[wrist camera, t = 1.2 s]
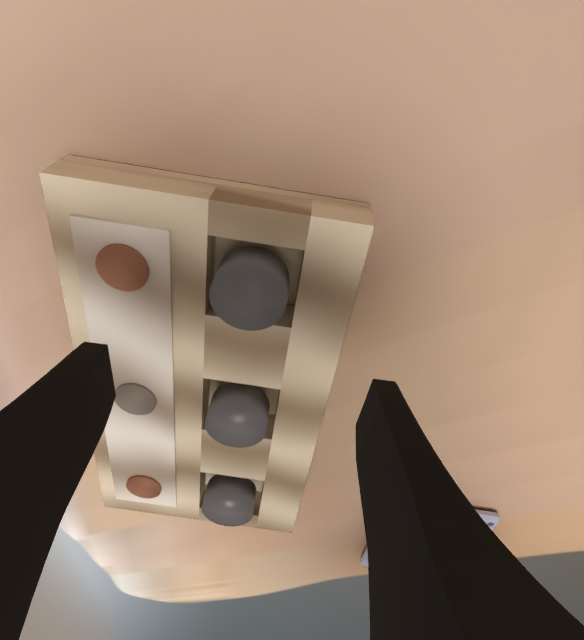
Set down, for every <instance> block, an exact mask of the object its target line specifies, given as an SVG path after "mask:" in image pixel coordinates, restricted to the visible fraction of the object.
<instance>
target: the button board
mask: <svg viewBox="0 0 584 640" xmlns="http://www.w3.org/2000/svg"><path fill="white" fill-rule="evenodd" d="M39 175H40V180H41V185H42V190H43V195H44V201H45V206H46V211H47V216H48V221H49V226H50V231H51V236H52V241H53V246H54V251H55V257H56V262H57V267H58V272H59V277H60V282H61V287H62V292H63V297H64V302H65V307H66V312H67V318H68V323H69V328H70V333H71V338H72V343H73V348H74V350H75V349H76V348H77V347H78V346H79V345H80V344H82V343H83V342H91V343H99V344H107V345H108V350H109V356H110V362H111V368H112V374H113V380H114V386H115V392H116V397H115V400H114V403H113V407H112V410H111V413H110V416H109V418H108V421H107V424H106V427H105V430H104V432H103V434H102V436H101V438H100V440H99V443H98V445H97V447H96V449H95V451H94V455H95V460H96V465H97V470H98V475H99V480H100V485H101V490H102V496H103V501H104V506H105V507H112V508H119V509H126V510H133V511H140V512H148V513H155V514H162V515H169V516H176V517H183V518H190V519H198V520H205V521H210V520H209V519H207V518H206V517H205V516H204V514H203V513H202V505H203V501H204V497H205V493H206V489H207V485H208V482H209V480H210V479H211V478H212V477H213V476H215V475H218V474H219V475H226V476H233V477H240V478H247V479H250V480H251V481H252V482H253V483H254V484H255V486H256V497H255V504H254V511H253V517H252V519H251V520H250V521H249V522H248V523H246V524H244V525H241V526H248V527H255V528H262V529H269V530H276V531H283V532H291V533H292V531H293V528H294V524H295V520H296V517H297V513H298V509H299V505H300V502H301V498H302V494H303V490H304V487H305V483H306V479H307V476H308V472H309V468H310V464H311V461H312V457H313V453H314V450H315V446H316V442H317V438H318V435H319V431H320V427H321V423H322V420H323V416H324V412H325V409H326V405H327V401H328V397H329V394H330V390H331V386H332V383H333V379H334V375H335V371H336V368H337V364H338V360H339V356H340V353H341V349H342V345H343V342H344V338H345V334H346V330H347V327H348V323H349V319H350V316H351V312H352V308H353V304H354V301H355V297H356V293H357V289H358V286H359V282H360V278H361V275H362V271H363V267H364V263H365V260H366V256H367V252H368V248H369V245H370V241H371V237H372V234H373V230H374V221H373V217H372V212H371V207H370V203H363V202H357V201H351V200H345V199H339V198H332V197H326V196H320V195H314V194H308V193H302V192H295V191H289V190H283V189H277V188H271V187H264V186H258V185H252V184H246V183H240V182H233V181H227V180H221V179H215V178H209V177H202V176H196V175H190V174H184V173H178V172H172V171H165V170H159V169H153V168H147V167H141V166H134V165H128V164H122V163H116V162H110V161H103V160H97V159H91V158H85V157H79V156H73V155H68V156H66V157H65V158H63V159H61V160H59V161H58V162H56V163H54V164H53V165H51V166H49V167H47V168H46V169H44V170H42V171H41V172H39ZM243 246H258V247H263V248H266V249H268V250H270V251H272V252H273V253H275V254H276V255H278V256H279V257H280V258H281V259H282V260H283V262H284V263H285V265H286V267H287V269H288V271H289V276H290V284H289V292H288V299H287V306H286V310H285V312H284V314H283V316H282V317H281V319H280V320H279V321H278V322H277V323H275V324H274V325H272V326H271V327H268V328H266V329H262V330H257V331H247V330H241V329H238V328H235V327H233V326H230V325H229V324H227V323H225V322H224V321H223V320H222V319H221V318H219V316H218V315H217V314H216V313H215V311H214V310H213V308H212V306H211V303H210V298H209V292H210V287H211V284H212V282H213V279H214V277H215V274H216V272H217V270H218V267H219V265H220V263H221V261H222V259H223V258H224V257H225V256H226V255H227V254H228V253H229V252H230V251H232V250H234V249H236V248H239V247H243ZM232 382H233V383H240V384H247V385H253V386H255V387H257V388H259V389H260V390H262V391H263V392H264V393H265V394H266V396H267V397H268V399H269V402H270V409H269V416H268V423H267V430H266V435H265V437H264V438H263V440H262V441H261V442H259V443H258V444H256V445H253V446H250V447H245V448H235V447H229V446H226V445H223V444H221V443H219V442H217V441H215V440H214V439H213V438H212V437H211V436H210V435H209V434H208V433H207V431H206V428H205V419H206V416H207V412H208V409H209V406H210V402H211V399H212V396H213V393H214V392H215V390H216V389H217V388H219V387H220V386H222V385H224V384H227V383H232Z"/></svg>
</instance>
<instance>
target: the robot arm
mask: <svg viewBox="0 0 584 640" xmlns="http://www.w3.org/2000/svg"><path fill="white" fill-rule="evenodd" d="M115 397H116V392H115V386H114V380H113V374H112V368H111V362H110V356H109V350H108V345H107V344H99V343H91V342H83V343H82V344H80V345H79V346H78V347H77V348H76V349H75V350H73V351H72V352H71V353H70V354H69V355H68V356H66V357H65V358H64V359H63V360H62V361H61V362H60V363H58V364H57V365H56V366H55V367H54V368H53V369H51V370H50V371H49V372H48V373H47V374H46V375H44V376H43V377H42V378H41V379H40V380H38V381H37V382H36V383H35V384H34V385H32V386H31V387H30V388H29V389H27V390H26V391H25V392H24V393H22V394H21V395H20V396H19V397H18V398H16V399H15V400H14V401H13V402H11V403H10V404H9V405H7V406H6V407H5V408H3V409H2V410H1V411H0V640H19V637H20V634H21V631H22V628H23V625H24V622H25V619H26V616H27V613H28V610H29V607H30V604H31V600H32V598H33V595H34V592H35V589H36V587H37V583H38V581H39V578H40V575H41V572H42V569H43V567H44V564H45V561H46V558H47V556H48V553H49V550H50V548H51V545H52V542H53V540H54V537H55V535H56V532H57V529H58V527H59V524H60V522H61V519H62V517H63V515H64V513H65V510H66V508H67V506H68V504H69V502H70V500H71V498H72V496H73V494H74V492H75V490H76V488H77V486H78V483H79V481H80V479H81V477H82V475H83V473H84V471H85V469H86V467H87V465H88V463H89V461H90V459H91V457H92V455H93V453H94V451H95V449H96V447H97V445H98V443H99V440H100V438H101V436H102V434H103V432H104V430H105V427H106V424H107V421H108V418H109V416H110V413H111V410H112V407H113V403H114V400H115ZM356 462H357V471H358V479H359V486H360V494H361V502H362V509H363V517H364V524H365V532H366V540H367V548H366V550H365V552H364V554H363V556H362V558H361V565H362V566H364V567H368V570H369V599H370V640H584V626H583V625H582V624H581V623H580V622H579V621H578V620H577V619H576V618H574V617H573V616H572V615H571V614H570V613H569V612H568V611H567V610H566V609H565V608H564V607H563V606H562V605H561V604H560V603H559V602H558V601H557V600H555V598H554V597H553V596H552V595H551V594H550V593H549V592H548V591H547V590H546V589H545V588H544V587H543V586H542V585H541V584H540V583H539V582H538V581H537V580H536V579H535V578H534V577H533V576H532V575H531V574H530V573H529V572H528V571H527V570H526V568H525V567H524V566H523V565H522V564H521V563H520V562H519V561H518V560H517V558H516V557H515V556H514V555H513V554H512V553H511V552H510V551H509V550H508V548H507V547H506V546H505V545H504V544H503V543H502V542H501V541H500V540H499V538H498V537H497V536H496V535H495V534H494V532H493V531H492V530H493V529H494V528H495V526H496V525H497V524H498V522H499V521H500V517H499V515H498V513H496V512H491V511H484V510H477V509H474V507H473V506H472V505H471V504H470V502H469V501H468V500H467V498H466V497H465V495H464V494H463V493H462V491H461V490H460V489H459V487H458V486H457V484H456V483H455V481H454V480H453V478H452V477H451V475H450V474H449V473H448V471H447V470H446V468H445V467H444V465H443V464H442V462H441V460H440V459H439V457H438V456H437V454H436V452H435V451H434V449H433V448H432V446H431V444H430V443H429V441H428V439H427V438H426V436H425V434H424V433H423V431H422V429H421V428H420V426H419V424H418V422H417V421H416V419H415V417H414V415H413V413H412V412H411V410H410V408H409V406H408V404H407V402H406V400H405V399H404V397H403V395H402V393H401V391H400V389H399V387H398V385H397V384H396V383H395V382H393V381H385V380H378V379H373V381H372V383H371V386H370V389H369V391H368V394H367V397H366V399H365V402H364V405H363V407H362V410H361V413H360V415H359V418H358V421H357V423H356Z"/></svg>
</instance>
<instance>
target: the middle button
mask: <svg viewBox="0 0 584 640" xmlns="http://www.w3.org/2000/svg"><path fill="white" fill-rule="evenodd" d="M269 409H270V402H269V399H268V397H267V396H266V394H265V393H264V392H263V391H262V390H260V389H259V388H257V387H255V386H253V385H247V384H240V383H233V382H232V383H227V384H224V385H222V386H220V387H219V388H217V389H216V390H215V392H214V393H213V396H212V399H211V402H210V406H209V409H208V412H207V416H206V419H205V428H206V431H207V433H208V434H209V435H210V436H211V437H212V438H213V439H214V440H215V441H217V442H219V443H221V444H223V445H226V446H229V447H235V448H245V447H250V446H253V445H256V444H258V443H259V442H261V441H262V440H263V438H264V437H265V435H266V430H267V423H268V416H269Z"/></svg>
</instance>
